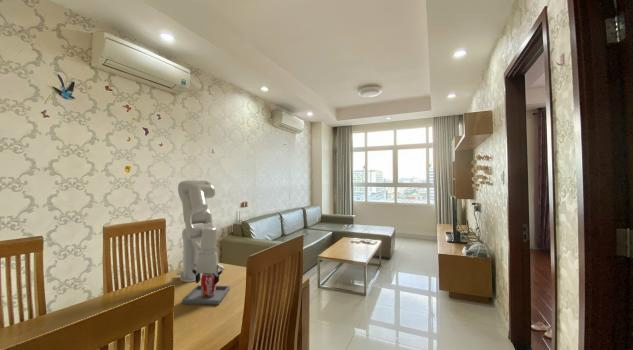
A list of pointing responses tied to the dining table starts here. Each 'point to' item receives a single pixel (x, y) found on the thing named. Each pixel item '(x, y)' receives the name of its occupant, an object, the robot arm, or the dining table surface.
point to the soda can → (208, 285)
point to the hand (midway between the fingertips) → (207, 282)
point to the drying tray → (196, 297)
